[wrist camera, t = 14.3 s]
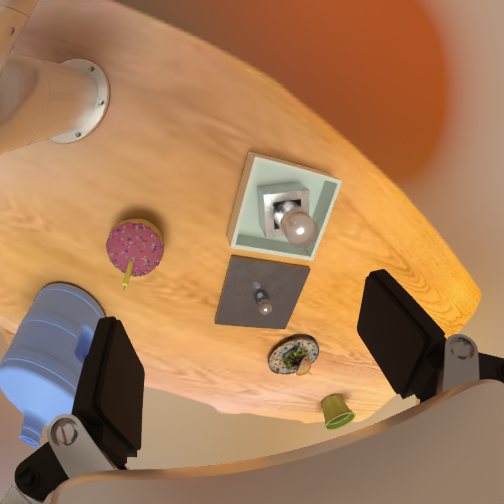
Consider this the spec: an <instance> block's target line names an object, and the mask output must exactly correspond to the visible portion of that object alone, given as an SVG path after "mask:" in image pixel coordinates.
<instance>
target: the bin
mask: <svg viewBox="0 0 504 504" xmlns="http://www.w3.org/2000/svg"><path fill="white" fill-rule="evenodd" d="M289 182H300V183H301V184H302V185H304V186H305V187H306V188H307V189H309V216H310V217H311V218H312V219H313V220H314V221H315V222H316V223H317V225H318V227H319V236H318V238H317V240H316V241H315V243H314V244H313V245H311V246H310V247H308V248H304V249H298V248H295V247H293V246H292V245H291V244H290V243H289V241H288V240H287V238H286V237H285V236H280V237H273V238H267V239H266V237H265V235H264V233H263V231H262V229H261V228H260V223H259V210H258V197H257V186H263V185H271V184H280V183H289ZM341 183H342V181H341V180H340V179H338V178H336V177H334V176H333V175H331V174H329V173H326V172H323V171H319V170H316V169H313V168H309V167H306V166H303V165H299V164H296V163H292V162H288V161H285V160H281V159H277V158H274V157H270V156H266V155H262V154H258V153H254V152H250V151H249V152H248V156H247V159H246V163H245V167H244V170H243V174H242V178H241V181H240V185H239V189H238V193H237V196H236V200H235V204H234V208H233V212H232V215H231V219H230V223H229V227H228V231H227V237H228V241H229V245H230V248H236V249H242V250H248V251H255V252H261V253H267V254H273V255H280V256H286V257H292V258H299V259H305V260H311V261H313V259H314V256H315V254H316V251H317V248H318V246H319V243H320V241H321V238H322V235H323V233H324V230H325V227H326V225H327V222H328V219H329V217H330V214H331V211H332V208H333V206H334V203H335V200H336V197H337V195H338V192H339V189H340V186H341ZM289 201H291V200H289ZM282 202H284V201H281V202H273V214H274V211H275V209H276V207H277V206H278V205H279V204H280V203H282Z"/></svg>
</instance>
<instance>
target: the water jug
mask: <svg viewBox="0 0 504 504" xmlns="http://www.w3.org/2000/svg"><path fill="white" fill-rule="evenodd" d="M100 318H105V315H104V313H103V311H102V309H101V307H100V306H99V304H98V303H97V302H96V301H95V300H94V299H93V298H92V297H91V296H90V295H89V294H88V293H86V292H85V291H83V290H81V289H80V288H78V287H75V286H73V285H69V284H65V283H54V284H50V285H47V286H46V287H44V288H43V289H42V290H41V291H40V292H39V293H38V295H37V296H36V298H35V300H34V303H33V305H32V306H31V308H30V310H29V311H28V313H27V315H26V316H25V318H24V319H23V320H22V322H21V324H20V326H19V328H18V330H17V333H16V335H15V337H14V339H13V341H12V343H11V345H10V347H9V349H8V351H7V352H6V354H5V355H4V357H3V360H2V362H1V364H0V388H1V390H2V391H3V393H4V395H5V396H6V397H7V398H8V399H9V400H10V401H11V402H12V403H13V404H14V405H15V406H16V407H17V408H18V409H19V410H20V411H21V412H22V413H23V414H24V417H25V418H24V422H23V424H22V432H21V434H20V435H19V438H20V439H21V440H22V441H23V442H25V443H26V444H28V445H30V446H33V447H40V444H39V441H40V438H41V437H42V429H43V427H44V426H45V425H46V426H49V425H50V423H51V421H52V420H53V419H54V418H56V417H57V416H59V415H62V414H71V412H72V407H73V403H74V398H75V394H76V390H77V386H78V382H79V378H80V374H81V370H82V366H83V363H84V359H85V357H86V355H87V354H88V353H89V349H90V346H91V343H92V339H93V336H94V333H95V329H96V326H97V323H98V320H99V319H100Z"/></svg>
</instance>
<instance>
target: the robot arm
mask: <svg viewBox="0 0 504 504" xmlns="http://www.w3.org/2000/svg"><path fill="white" fill-rule="evenodd" d="M38 1H39V0H0V155H2V154H4V153H6V152H9V151H12V150H15V149H17V148H20V147H23V146H26V145H29V144H32V143H35V142H38V141H42V140H45V139H48V140H51V141H53V142H55V143H61V144H65V143H72V142H76V141H78V140H81V139H82V138H84V137H86V136H88V135H89V134H90V133H91V132H92V131H94V129H95V128H96V127H97V126H98V125H99V123H100V122H101V120H102V119H103V117H104V115H105V112H106V110H107V107H108V103H109V96H110V90H109V83H108V80H107V77H106V75H105V73H104V71H103V70H102V69H101V68H100V67H99V66H98V65H96V64H95V63H93V62H91V61H89V60H85V59H71V60H67V61H64V62H62V63H60V64H58V63H54V62H50V61H46V60H42V59H37V58H32V57H27V56H21V55H15V56H9V55H10V53H11V51H12V49H13V47H14V45H15V43H16V41H17V39H18V37H19V35H20V33H21V31H22V29H23V27H24V25H25V24H26V22H27V20H28V18H29V16H30V15H31V13H32V11H33V9H34V8H35V6H36V4H37V2H38ZM93 68H95V69H94V71H92V69H93ZM103 101H104V104H102V102H103ZM79 133H81V136H80V135H79ZM357 331H358V334H359V336H360V337H361V339H362V340H363V342H364V344H365V345H366V347H367V348H368V350H369V351H370V353H371V354H372V356H373V358H374V359H375V361H376V362H377V364H378V365H379V367H380V369H381V370H382V372H383V373H384V375H385V377H386V378H387V380H388V381H389V383H390V385H391V386H392V388H393V390H394V391H395V393H397V394H400V395H401V397H402V398H403V399H405V398H407V397H409V396H411V395H413V394H415V396H416V397H417V400H416V406H414V407H412V408H410V409H407V410H405V411H403V412H401V413H399V414H396V415H394V416H392V417H389V418H387V419H385V420H383V421H380V422H378V423H375V424H373V425H371V426H368V427H365V428H363V429H360V430H357V431H354V432H352V433H349V434H346V435H343V436H340V437H337V438H334V439H331V440H328V441H325V442H322V443H318V444H315V445H311V446H308V447H304V448H300V449H297V450H293V451H289V452H284V453H280V454H276V455H271V456H266V457H261V458H257V459H251V460H245V461H239V462H233V463H226V464H218V465H209V466H200V467H188V468H173V469H147V470H145V469H144V470H130V468H129V467H128V466H127V465H126V463H127V457H137V450H140V448H141V432H142V407H143V391H144V377H145V373H144V368H143V366H142V364H141V362H140V360H139V358H138V356H137V354H136V352H135V350H134V348H133V346H132V344H131V342H130V340H129V337H128V335H127V333H126V331H125V329H124V327H123V325H122V322H121V321H120V320H116V318H115V317H105V318H100V319H99V320H98V323H97V326H96V329H95V333H94V336H93V339H92V343H91V346H90V349H89V353H88V354H87V355H86V357H85V359H84V363H83V366H82V370H81V374H80V378H79V382H78V386H77V390H76V394H75V398H74V403H73V407H72V412H71V414H62V415H59V416H57V417H56V418H54V419H53V420H52V421H51V423H50V425H49V427H48V430H47V438H48V442H47V443H45V444H44V445H43V446H42V447H40V448H39V449H38V450H37V451H35V452H34V453H33V454H31V455H30V456H29V457H28V458H26V459H25V460H24V461H23V462H21V463H20V464H19V465H18V467H17V468H16V471H15V483H16V486H13V485H12V486H11V487H10V488H9V490H8V492H7V493H6V495H5V496H4V498H3V500H2V501H1V503H0V504H504V358H500V357H495V356H491V355H487V354H483V353H479V352H478V349H477V346H476V344H475V342H474V341H473V340H472V339H470V338H469V337H467V336H465V335H462V334H454V335H451V336H450V337H448V339H446V338H445V337H444V335H445V333H444V331H443V330H442V329H441V328H440V327H439V326H438V325H437V324H436V322H435V321H434V320H433V319H432V318H431V317H430V316H429V315H428V314H427V313H426V311H425V310H424V309H423V308H422V307H421V306H420V305H419V304H418V303H417V302H416V301H415V300H414V299H413V298H412V296H411V295H410V294H409V293H408V292H407V291H406V290H405V289H404V288H403V287H402V286H401V285H400V284H399V283H398V282H397V281H396V280H395V279H394V278H393V277H392V276H391V275H390V274H389V273H388V272H387V271H386V270H385V269H381V270H377V271H372V272H370V274H369V276H367V277H366V280H365V286H364V292H363V298H362V303H361V309H360V314H359V319H358V324H357Z"/></svg>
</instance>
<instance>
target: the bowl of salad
mask: <svg viewBox="0 0 504 504" xmlns="http://www.w3.org/2000/svg"><path fill="white" fill-rule="evenodd" d="M318 354H319V347H318V345H317V342H316V340H315V339H314V338H313V337H312V336H310V335H306V334H294V335H293V339H291V340H289V341H286V342H284V343H283V344H282V345H281V346H279V347H278V348H276V349H275V350H274V352H273V353H272V354H271V356H270V358H269V360H268V362H269V367H270V369H271V371H273V372H274V373H277V374H279V373H280V374H292V373H295V372H297V374H296V375H299V376H301V375H304V374H306V373H308V372H309V370H310V368H311V364H312V363H313V362H314V361H315V360H316V358H317V356H318Z"/></svg>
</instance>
